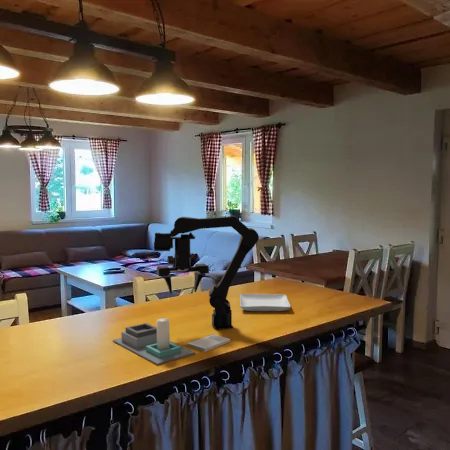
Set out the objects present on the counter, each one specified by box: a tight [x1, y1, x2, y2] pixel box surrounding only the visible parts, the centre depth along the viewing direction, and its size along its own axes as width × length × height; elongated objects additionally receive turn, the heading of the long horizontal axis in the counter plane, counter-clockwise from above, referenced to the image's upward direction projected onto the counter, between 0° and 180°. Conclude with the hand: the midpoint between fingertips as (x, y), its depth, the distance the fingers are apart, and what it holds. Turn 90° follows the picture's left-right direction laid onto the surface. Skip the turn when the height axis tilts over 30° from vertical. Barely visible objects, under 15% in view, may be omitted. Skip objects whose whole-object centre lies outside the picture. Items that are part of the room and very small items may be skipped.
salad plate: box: [239, 293, 292, 312], centre depth 204 cm, size 21×21×3 cm
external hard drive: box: [186, 334, 231, 353], centre depth 156 cm, size 2×8×12 cm
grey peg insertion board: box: [112, 322, 196, 366], centre depth 153 cm, size 28×14×5 cm, turn 41°
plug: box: [156, 317, 171, 351], centre depth 148 cm, size 4×4×10 cm
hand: (183, 292), depth 173 cm, fingers open, 9 cm apart
